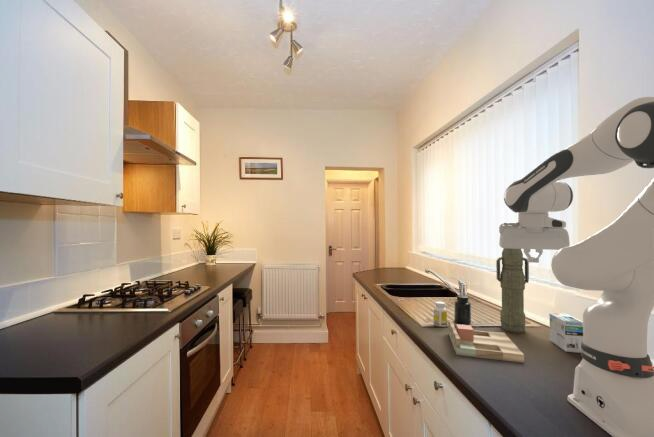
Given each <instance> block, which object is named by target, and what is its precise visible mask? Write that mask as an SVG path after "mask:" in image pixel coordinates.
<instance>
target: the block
mask: <svg viewBox="0 0 654 437" xmlns="http://www.w3.org/2000/svg"><path fill="white" fill-rule="evenodd" d="M455 328H456V331H457V333H458V335H459V337H460V340H466V341H474V328H473V326H472V325H471V324H469V325H461V324H457V323H456V324H455Z"/></svg>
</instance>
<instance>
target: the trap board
mask: <svg viewBox="0 0 654 437" xmlns="http://www.w3.org/2000/svg"><path fill="white" fill-rule="evenodd" d="M473 330H474V329H473ZM448 337H449V339H450V342H451V345H452V347H453V350H454V352H455V354H456V356H462V357H463V356H465V357H473V358H479V359H480V358H481V359H490V360H497V361H498V360H499V361H506V362H515V363H516V362H517V363H523V364H524V363H525V354H524V353H523V352H522V351H521V349H519V347H518V345H516V344H515V343H514V342H513V341H512V339H510V337H509V336H508V335H507V334H506V333H505V332H498V331H497V332H496V331H488V330H487V331H484V330H474V341H466V340H460V337H459V335H458V333H457V331H456V325H454V322H453V320H448Z"/></svg>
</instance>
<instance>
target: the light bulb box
mask: <svg viewBox="0 0 654 437" xmlns="http://www.w3.org/2000/svg"><path fill="white" fill-rule="evenodd" d="M548 315H549V317H548V318H549V341H550V342H551V343H552V344H554V345H556V346H557V347H558V348H560V349H561V350H563V351H564V352H568V353H578V354H581V350H580V347H581V342H582V341H583V319H582V320H581V319H579V318H577V317H575V316H573V315H570V314H569V313H561V312H560V313H557V312H549V314H548Z"/></svg>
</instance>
